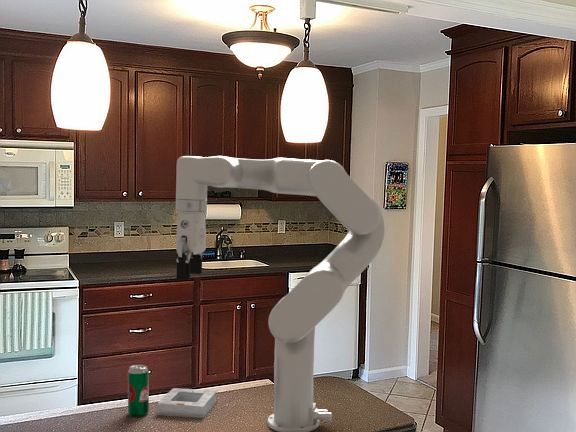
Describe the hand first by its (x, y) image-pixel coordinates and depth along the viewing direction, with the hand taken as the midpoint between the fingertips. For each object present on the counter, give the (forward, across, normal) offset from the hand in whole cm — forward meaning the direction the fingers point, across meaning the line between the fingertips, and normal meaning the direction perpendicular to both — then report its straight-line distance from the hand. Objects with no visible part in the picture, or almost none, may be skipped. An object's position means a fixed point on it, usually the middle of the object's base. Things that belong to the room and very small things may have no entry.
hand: (189, 276), depth 154 cm
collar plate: (+35, +6, +2) cm, 36 cm away
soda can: (+36, 0, +12) cm, 38 cm away
